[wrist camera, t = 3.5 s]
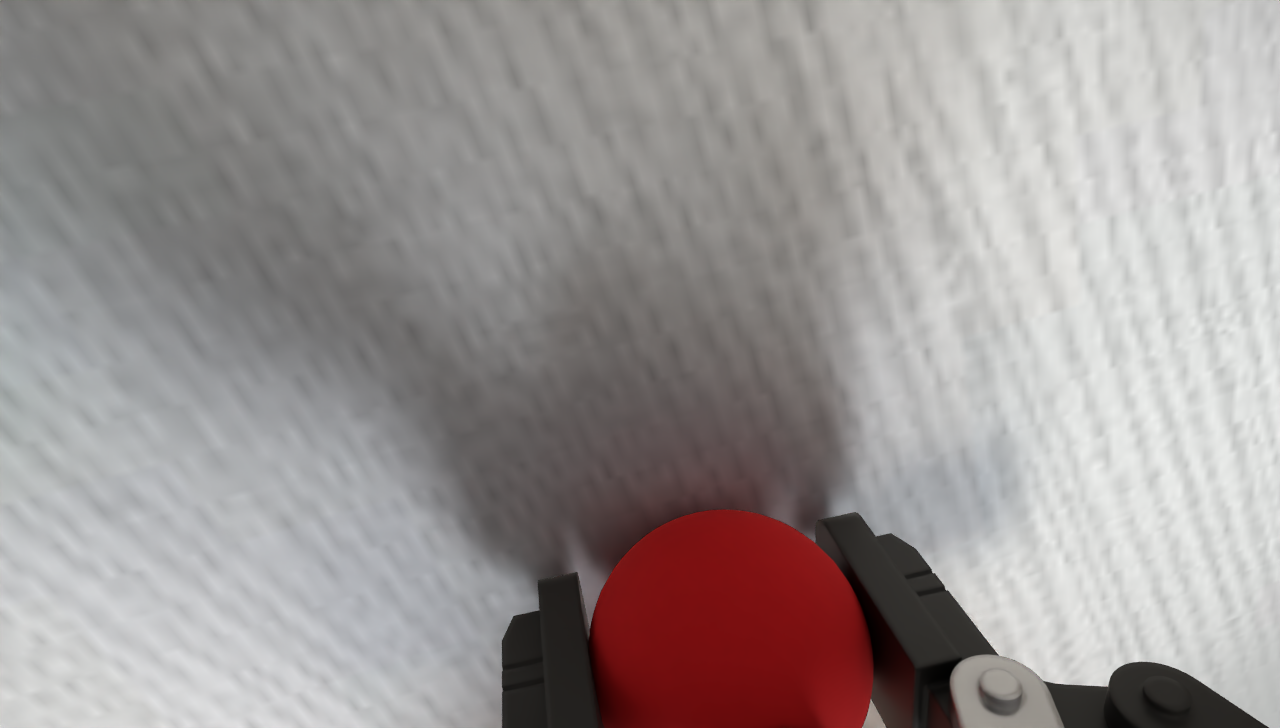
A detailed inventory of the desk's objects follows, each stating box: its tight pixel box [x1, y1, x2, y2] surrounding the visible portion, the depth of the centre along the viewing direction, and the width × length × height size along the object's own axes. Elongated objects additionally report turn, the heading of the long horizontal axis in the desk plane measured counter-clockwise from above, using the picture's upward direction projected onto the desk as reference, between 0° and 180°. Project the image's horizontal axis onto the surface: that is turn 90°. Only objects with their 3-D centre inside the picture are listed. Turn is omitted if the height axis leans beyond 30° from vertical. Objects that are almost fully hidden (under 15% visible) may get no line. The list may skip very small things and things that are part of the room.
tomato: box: [588, 509, 874, 728], centre depth 12 cm, size 5×5×5 cm
